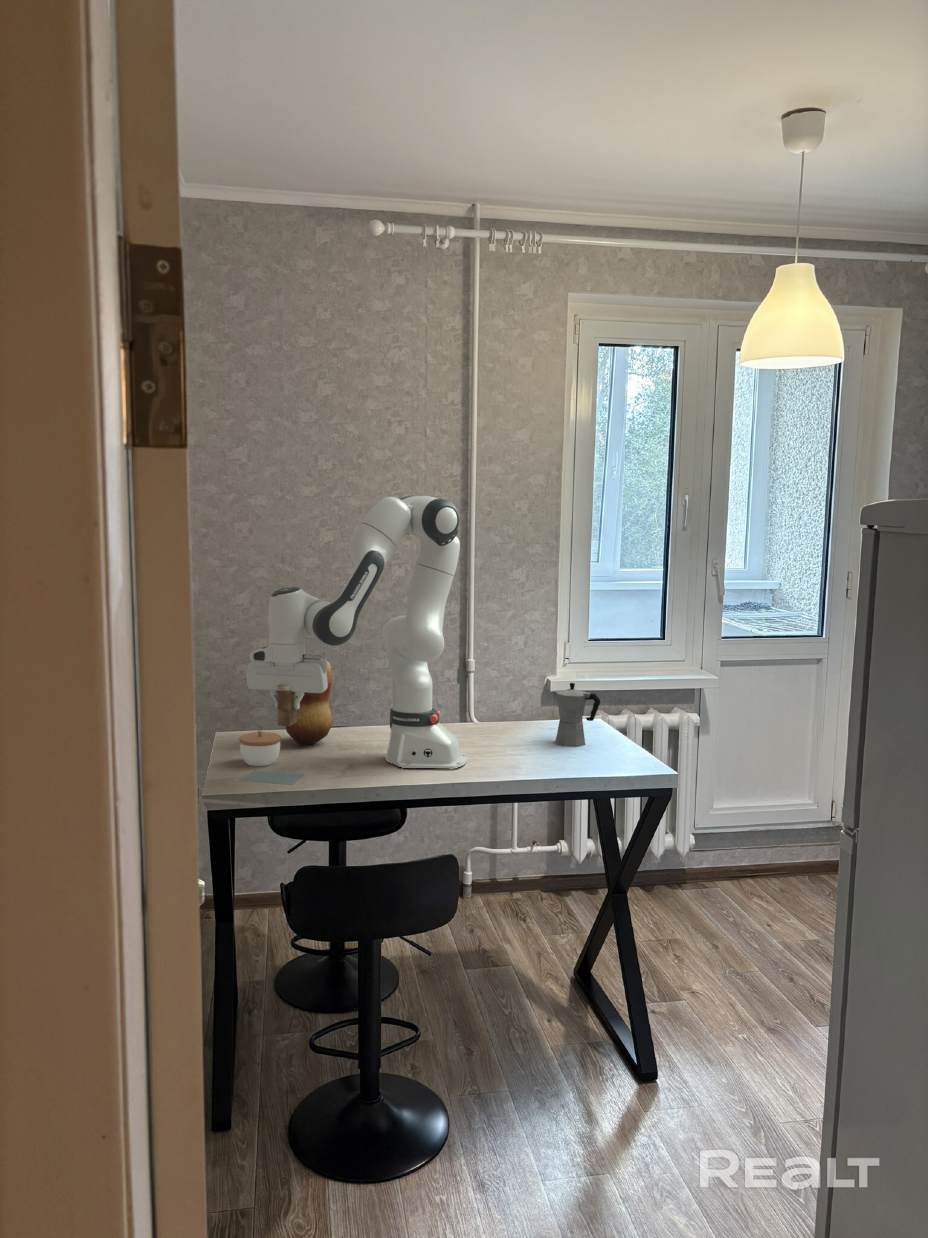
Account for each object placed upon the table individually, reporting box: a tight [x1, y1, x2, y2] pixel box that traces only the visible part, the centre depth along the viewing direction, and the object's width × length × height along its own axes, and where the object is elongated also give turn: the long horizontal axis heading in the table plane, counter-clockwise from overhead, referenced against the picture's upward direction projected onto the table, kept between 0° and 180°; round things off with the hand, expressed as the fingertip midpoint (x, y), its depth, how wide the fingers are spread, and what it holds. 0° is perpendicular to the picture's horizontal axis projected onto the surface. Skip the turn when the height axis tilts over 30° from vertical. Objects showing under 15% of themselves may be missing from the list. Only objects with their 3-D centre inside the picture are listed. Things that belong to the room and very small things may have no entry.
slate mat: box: [238, 769, 307, 786], centre depth 234 cm, size 14×9×1 cm, turn 79°
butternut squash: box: [284, 659, 333, 745], centre depth 269 cm, size 14×13×25 cm
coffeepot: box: [550, 682, 601, 747], centre depth 274 cm, size 15×9×18 cm, turn 61°
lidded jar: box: [238, 730, 282, 767], centre depth 247 cm, size 11×11×9 cm
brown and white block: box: [277, 685, 297, 727], centre depth 231 cm, size 3×5×10 cm, turn 169°
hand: (287, 708), depth 231 cm, fingers closed on brown and white block, 3 cm apart
